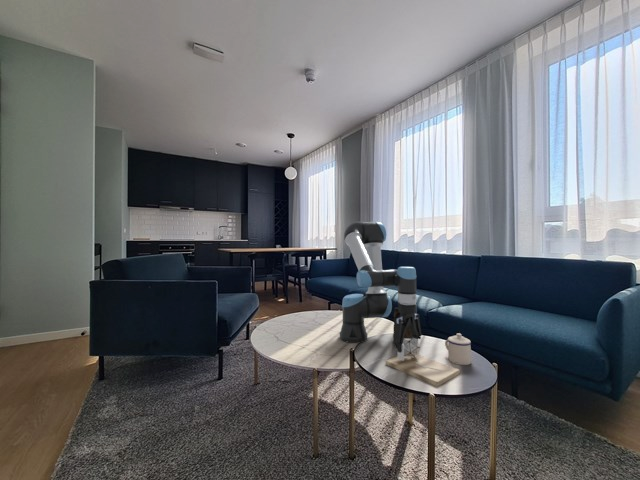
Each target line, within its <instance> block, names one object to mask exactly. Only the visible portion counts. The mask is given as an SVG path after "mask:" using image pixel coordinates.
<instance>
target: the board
mask: <svg viewBox="0 0 640 480" xmlns="http://www.w3.org/2000/svg"><path fill="white" fill-rule="evenodd" d="M415 357H416V358H414V357H411V356H404V361H402V360H400V359H398V355H396V356H394V357H392V358H389V359H386V360H385V365H386V366H389V367H392V368H394V369H396V370H398V371H401V372H403V373H405V374H408V375H410V376H412V377H415V378H417V379H420V380H422V381H424V382H427V383H429V384H431V385H433V386H435V387H439V386H441V385H442V384H444V383H446V382H448V381H449V380H451V379H453V378H455V377H456V376H458V375H460V373H461V372H460V371H461V369H459V368H456V367H453V366H450V365H447V364H445V363H442V362H439V361H436V360H433V359H431V358H427V357H425V356H422V355H420V354H418V355H416V354H415Z"/></svg>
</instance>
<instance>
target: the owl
mask: <svg viewBox="0 0 640 480" xmlns="http://www.w3.org/2000/svg"><path fill="white" fill-rule="evenodd" d="M393 312H394V313H393V332H394V331H395V318H400V312H399V311H398V307H395V308H394V311H393ZM415 314H418V313H415ZM402 325H403V324H402ZM412 337H413V335H412V333H411V330H410V327H409V326H408V328H407V329H406V333H405V336H404V338H409V339H412ZM392 338H394V333H393V334H392ZM394 346H396V347H395V348H397V343H394Z"/></svg>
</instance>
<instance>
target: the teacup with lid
mask: <svg viewBox="0 0 640 480" xmlns="http://www.w3.org/2000/svg"><path fill="white" fill-rule="evenodd" d="M462 335H463V334H461V333H460V332H459V333H456V335H452V336H449V337H448V338H447V339H446V340H445V342H444V344H445V345H444V346H445V349H447V354H448V355H447V356H448V360H449V362H450V363H453V364H455V365H460V366H469V365H470V364H472V353H471V352H472V348H471V345H472V342H471V340H470V339H468V338H467V337H465V336H462Z"/></svg>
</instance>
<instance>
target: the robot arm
mask: <svg viewBox="0 0 640 480" xmlns="http://www.w3.org/2000/svg"><path fill="white" fill-rule="evenodd" d="M343 239H344V243H345V244H346V245H347V246H348V248H349V251H350V252H351V256H352V258H353V260H354V263H355V265H356V267H357V270H358V271H357V272H356V283H357V285H358V287H360V288H367V291H366V292H365V296H364V294H363V293H351V294H347V295H345V296H344V297H343V298H342V304H341V306H342V308H341V309H342V325H341V329H340V332H339V340H340V341H343V342H347V343H352V344H354V343H355V344H356V343H357V344H358V343H363V342H362V341H364V342H366V341H368V338H369V337H368V332H367V329H366V326H365V319H378V318H379V319H382V318H387V317H389V316H390V314H391V312H392V308H393V305H392V302H393V301H392V299H391V297H390V295H388V294H387V291H386V290H385V289H384V287H397V302H398V304H397V308H398V311H399V312H400V318H395V331H394V330H393V334H394V338H393V337H392V338H393V340H392V341H393V343H394V344H395V343H397V347H396V351H397V356H398V359H400V360H402V361H404V344H402V343H403V340H404V336H405V333H406V329H407V328H408V326H409V327H410V330H411V333H412V335H413V337H414V338H413V340H414V342H415V343H416V345H417V347H419V340H421V338H422V335H423V334H422V329H421V323H420V322H421V321H420V314H418V313H417V312H418V310H417V309H418V307H417V304H416V303H417V271H416V268H415V267H414V266H399V267H397V269H395V268H394V269H393V268H392V269H391V268H390V269H383V264H382V263H383V262H382V248H381V247H382V246H383V245H384V242H385V241H386V239H387V229H386V226H385V225H384V224H383V223H382V222H379V221H353V222H351V223H350V224H349V225H347V227H346V228H345V231H344V232H343ZM415 313H417V314H415ZM402 324H403V325H402ZM365 340H366V341H365ZM416 355H419V348H418V349H417V351H416Z"/></svg>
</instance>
